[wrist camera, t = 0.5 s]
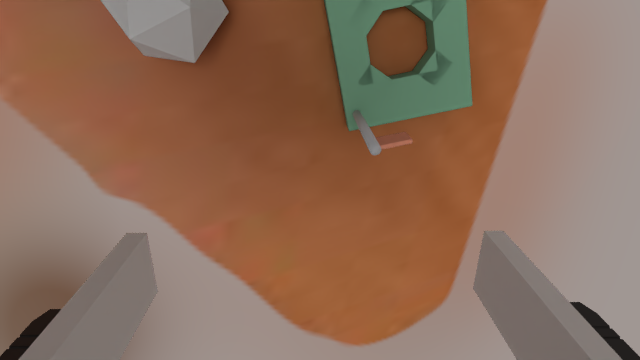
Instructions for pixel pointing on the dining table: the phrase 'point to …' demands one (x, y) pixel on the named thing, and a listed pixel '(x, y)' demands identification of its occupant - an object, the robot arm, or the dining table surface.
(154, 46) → the die
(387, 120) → the mini golf green
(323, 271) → the dining table surface
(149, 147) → the dining table surface
